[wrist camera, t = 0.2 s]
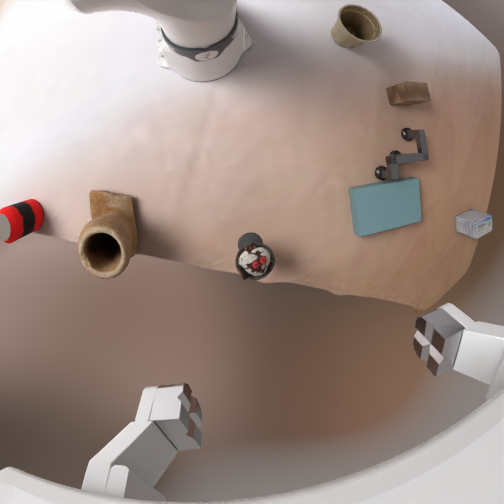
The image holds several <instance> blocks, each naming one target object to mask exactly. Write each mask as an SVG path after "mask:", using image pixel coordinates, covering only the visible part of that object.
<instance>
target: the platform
mask: <svg viewBox="0 0 504 504" xmlns="http://www.w3.org/2000/svg"><path fill="white" fill-rule="evenodd" d="M348 189H349V195H350V203H351V210H352V218H353V227H354V233H355V234H356V235H358V236H359V237H362V236H366V235H369V234H373V233H377V232H381V231H385V230H389V229H393V228H397V227H401V226H404V225H408V224H412V223H416V222H420V221H421V203H420V189H419V179H418V178H414V177H408V178H401V179H396V180H390V181H384V182H378V183H373V184H367V185H362V186H356V187H351V188H348Z"/></svg>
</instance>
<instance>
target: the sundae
mask: <svg viewBox="0 0 504 504" xmlns="http://www.w3.org/2000/svg"><path fill="white" fill-rule="evenodd" d="M238 248H239V251H238V253H237V256H236V268H237V270H238V272H239V273H240V275H241V276H242V278H243V279H244V280H245V279H251V280H259V279H262V278H264V277H266V276H267V275H268V274H269V273H270V272H271V271H272V269H273V267H274V264H275V257H274V254H273V252H272V250H271V249H270V248H269V247H268V246H267V245H264V244H262V239H261V238H260V236H258V235H257V234H255V233H246V234H244V235H243V236H242V237H241V238H240V239H239V242H238Z"/></svg>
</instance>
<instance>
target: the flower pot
mask: <svg viewBox="0 0 504 504" xmlns="http://www.w3.org/2000/svg"><path fill="white" fill-rule="evenodd" d="M331 33H332V37H333V39H334V40H335V42H336V43H338V44H340V45H341V46H343V47H346V48H352V47H354V46H357V45H359V44H362V43H364V42H374V41H377V40H378V39H379V38H380V36H381V33H382V28H381V25H380V23H379V21H378V19H377V18H376V17H375V16H374V15H373V13H372V12H370V11H369V10H367V9H366V8H364V7H362V6H359V5H354V4H349V5H345V6H343V7H342V8H341V9H340V10H339V13H338V20H337V22H336V23H335V25H334V27H333V29H332V32H331ZM352 34H354V36H353V35H352Z"/></svg>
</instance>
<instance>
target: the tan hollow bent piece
mask: <svg viewBox="0 0 504 504" xmlns="http://www.w3.org/2000/svg"><path fill="white" fill-rule="evenodd" d="M89 197H90V209H91V217H92V220H91V221H90V222H89V223H87V224H86V225H85V227H84V228H83V230H82V231H81V233H80V236H79V240H78V253H79V256H80V259H81V261H82V263H83V265H84V266H85V268H86V269H87V270H88V271H89V272H90V273H91V274H93V275H95V276H96V277H99V278H102V279H110V278H114V277H116V276H118V275H120V274H121V273H122V272H123V271H124V270H125V268H126V267H127V265H128V263H129V260H130V258H131V257H133V256H134V255H135V254H136V251H137V229H136V223H135V216H134V210H133V202H132V198H131V196H127V195H124V194H117V193H110V192H108V191H94V190H93V191H90V193H89Z"/></svg>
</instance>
